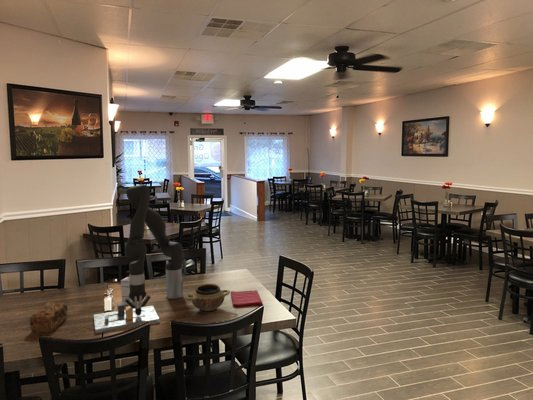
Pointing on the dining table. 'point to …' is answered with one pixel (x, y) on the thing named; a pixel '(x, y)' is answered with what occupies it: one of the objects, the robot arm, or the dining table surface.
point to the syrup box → (125, 290)
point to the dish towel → (245, 299)
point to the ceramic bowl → (207, 297)
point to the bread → (48, 317)
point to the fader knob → (129, 313)
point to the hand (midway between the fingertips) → (138, 314)
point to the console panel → (123, 319)
